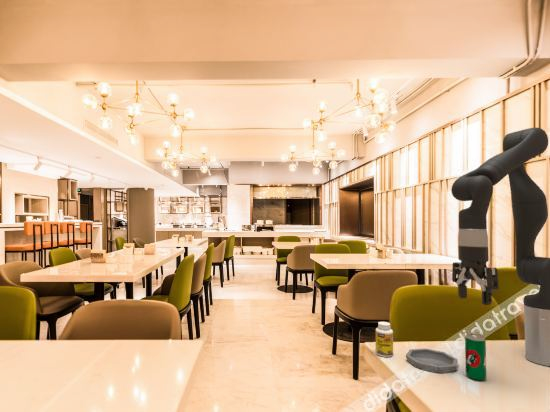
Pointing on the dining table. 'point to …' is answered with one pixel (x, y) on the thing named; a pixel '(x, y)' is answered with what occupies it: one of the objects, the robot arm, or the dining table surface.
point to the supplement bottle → (384, 339)
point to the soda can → (475, 356)
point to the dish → (432, 360)
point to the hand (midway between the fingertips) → (474, 301)
